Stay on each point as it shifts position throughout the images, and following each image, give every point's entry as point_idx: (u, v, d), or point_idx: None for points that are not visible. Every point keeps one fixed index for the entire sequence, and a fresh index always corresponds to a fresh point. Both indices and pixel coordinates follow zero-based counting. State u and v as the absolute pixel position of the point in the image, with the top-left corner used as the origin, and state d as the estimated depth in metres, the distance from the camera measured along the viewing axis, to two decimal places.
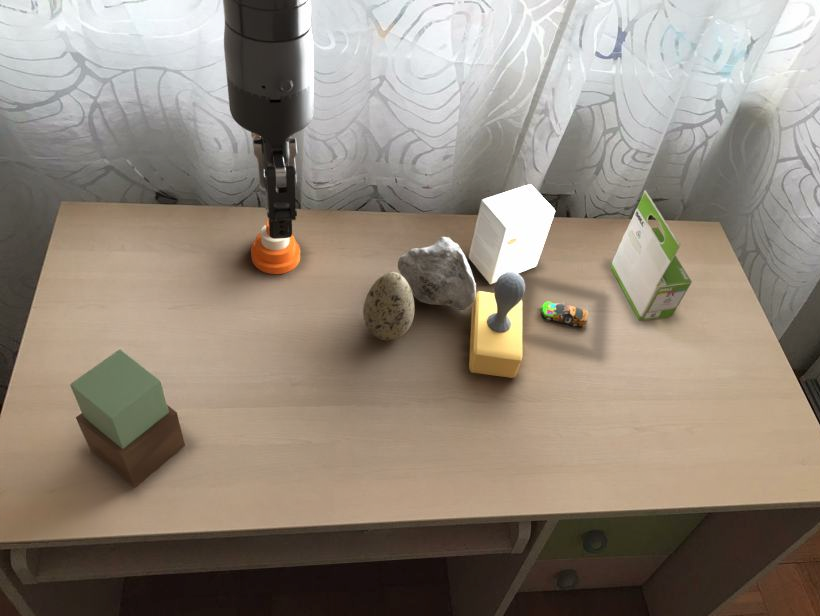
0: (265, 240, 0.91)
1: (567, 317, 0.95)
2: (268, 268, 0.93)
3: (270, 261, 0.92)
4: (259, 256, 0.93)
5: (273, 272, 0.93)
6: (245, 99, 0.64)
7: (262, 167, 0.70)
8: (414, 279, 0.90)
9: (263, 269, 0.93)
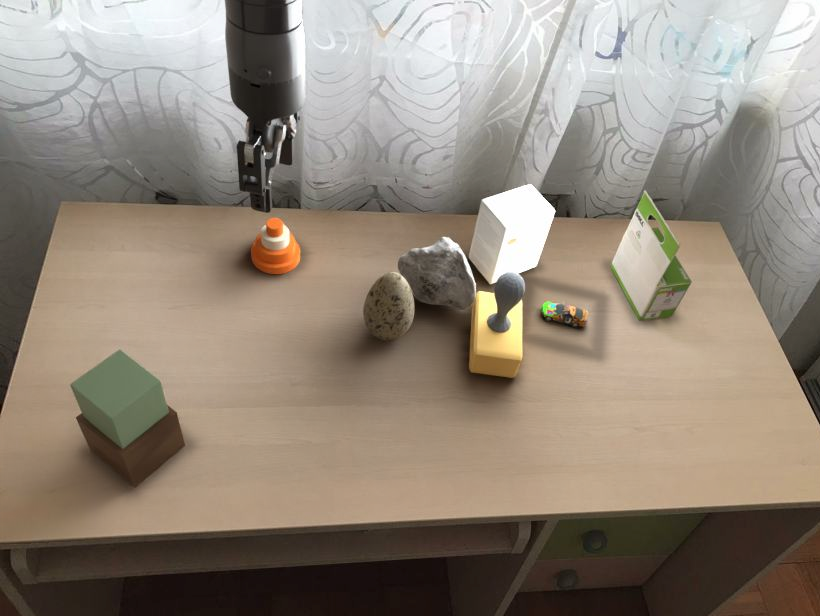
0: (265, 240, 0.91)
1: (567, 317, 0.95)
2: (268, 268, 0.93)
3: (270, 261, 0.92)
4: (259, 256, 0.93)
5: (273, 272, 0.93)
6: (233, 78, 0.72)
7: None
8: (414, 280, 0.90)
9: (263, 269, 0.93)
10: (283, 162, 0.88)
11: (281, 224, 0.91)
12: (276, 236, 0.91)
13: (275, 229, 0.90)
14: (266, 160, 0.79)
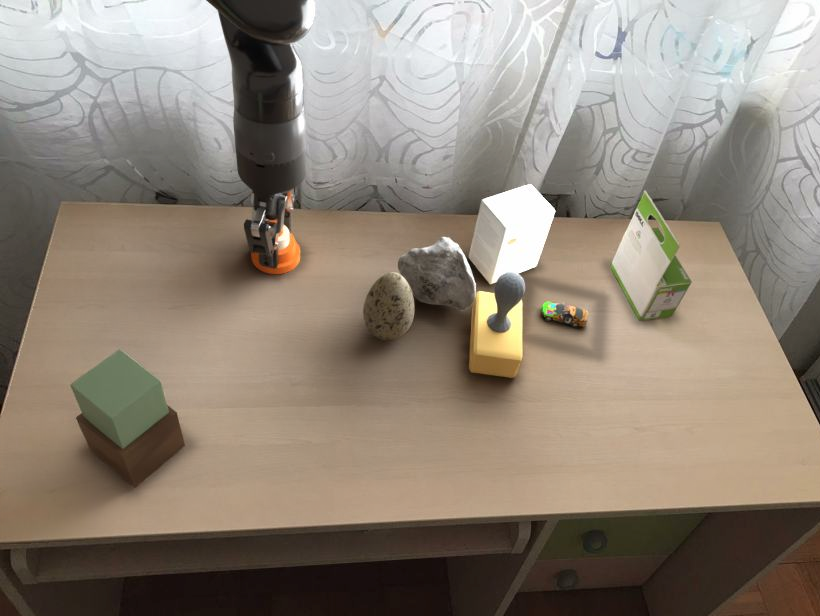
0: None
1: (567, 317, 0.95)
2: (268, 268, 0.93)
3: None
4: None
5: (273, 272, 0.93)
6: (240, 159, 0.80)
7: (255, 213, 0.86)
8: (414, 280, 0.90)
9: (263, 269, 0.93)
10: None
11: None
12: None
13: None
14: (272, 227, 0.87)
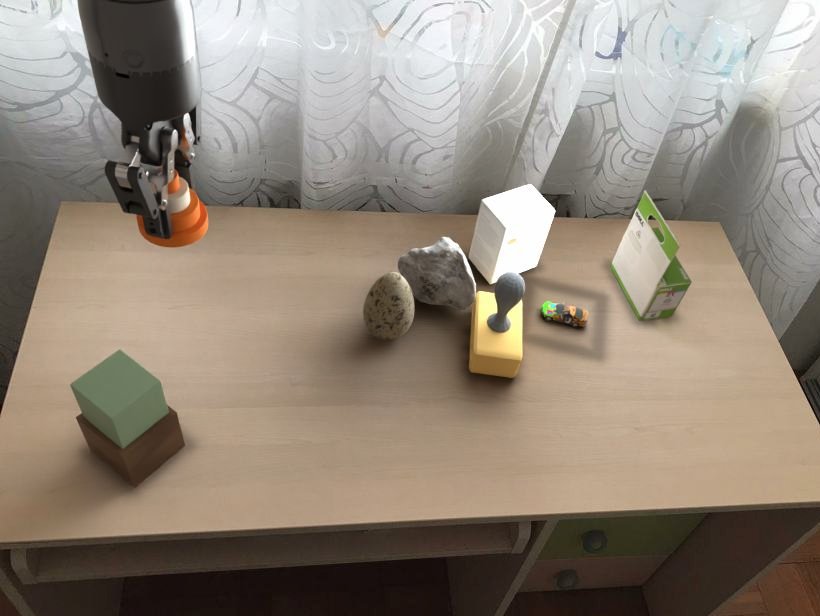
0: None
1: (567, 317, 0.95)
2: (159, 239, 0.65)
3: None
4: None
5: (167, 245, 0.66)
6: (94, 66, 0.53)
7: None
8: (414, 280, 0.90)
9: (153, 240, 0.66)
10: None
11: (175, 175, 0.64)
12: (168, 193, 0.64)
13: None
14: (155, 177, 0.60)
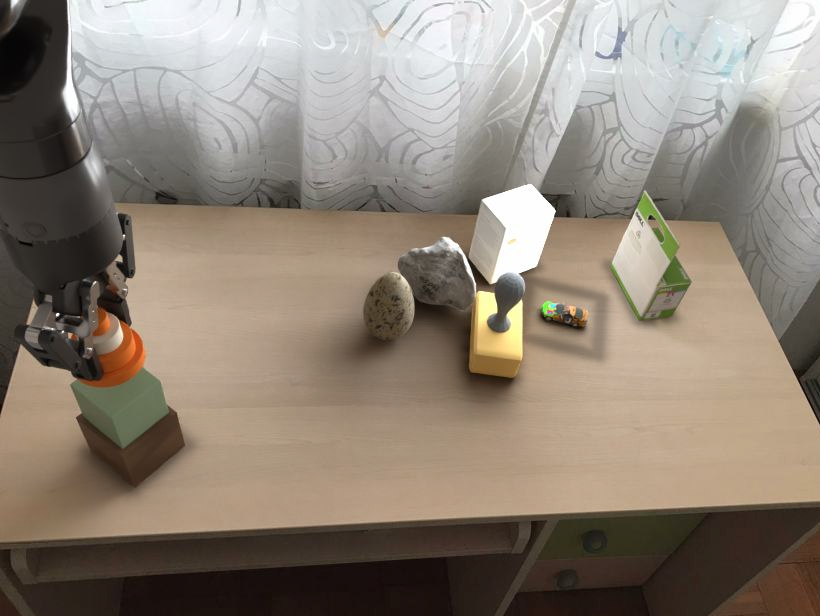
0: None
1: (567, 317, 0.95)
2: None
3: None
4: None
5: (99, 385, 0.62)
6: None
7: None
8: (414, 280, 0.90)
9: (83, 381, 0.62)
10: None
11: (104, 317, 0.60)
12: (97, 335, 0.60)
13: None
14: (77, 328, 0.56)
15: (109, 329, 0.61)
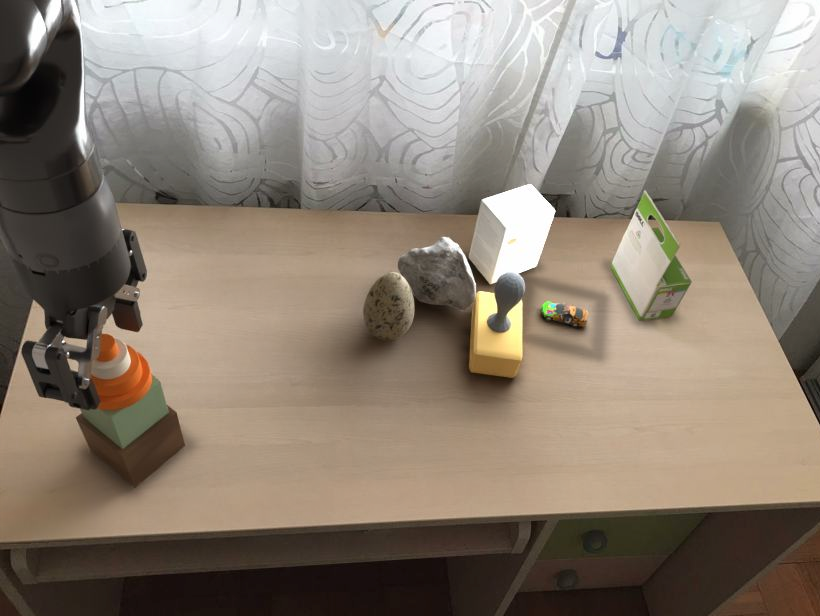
0: None
1: (567, 317, 0.95)
2: None
3: (101, 394, 0.64)
4: None
5: (107, 408, 0.65)
6: (11, 260, 0.51)
7: None
8: (414, 280, 0.90)
9: None
10: (128, 328, 0.67)
11: (112, 344, 0.63)
12: (106, 361, 0.63)
13: (102, 352, 0.62)
14: (78, 353, 0.57)
15: (117, 355, 0.64)
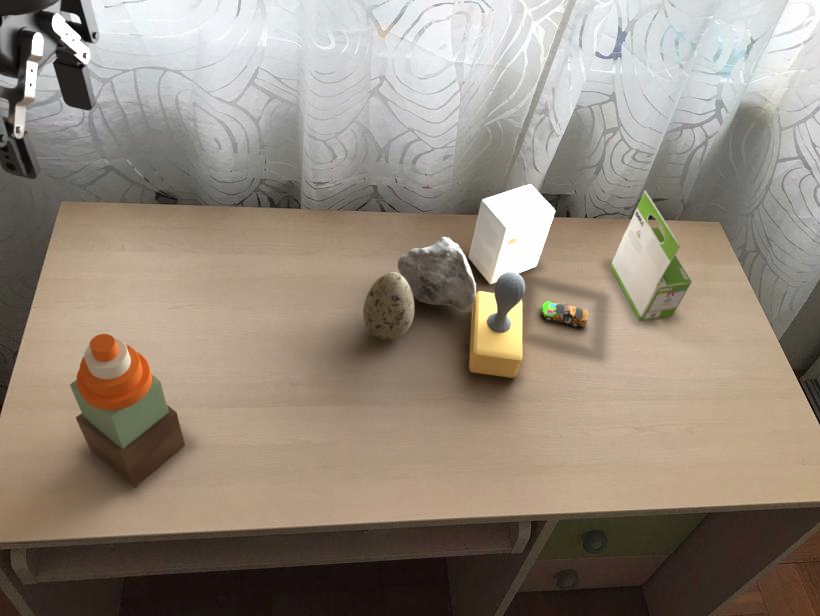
0: (90, 366, 0.63)
1: (567, 317, 0.95)
2: (99, 403, 0.64)
3: (101, 394, 0.64)
4: (86, 386, 0.65)
5: (107, 408, 0.65)
6: None
7: None
8: (414, 280, 0.90)
9: (92, 404, 0.65)
10: (78, 105, 0.58)
11: (112, 344, 0.63)
12: (106, 361, 0.63)
13: (102, 352, 0.62)
14: (8, 90, 0.48)
15: (117, 355, 0.64)
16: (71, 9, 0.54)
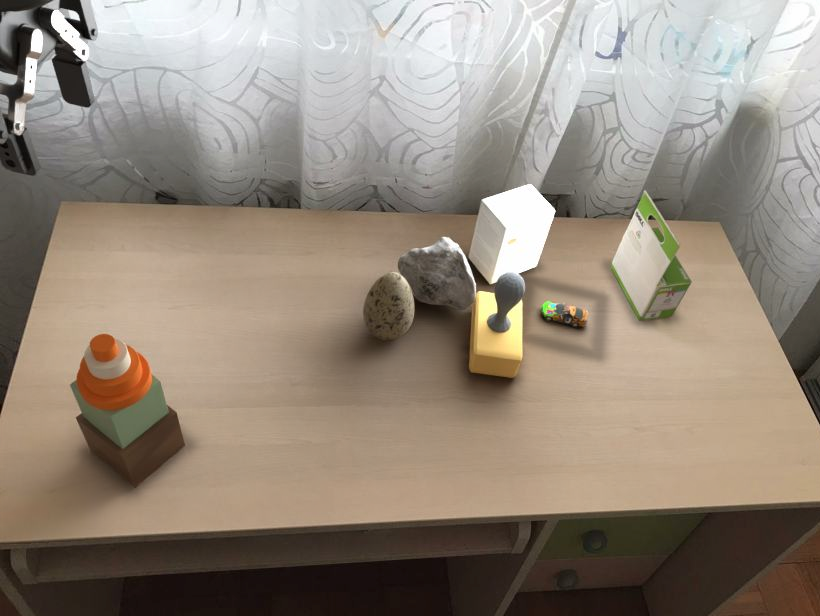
0: (90, 366, 0.63)
1: (567, 317, 0.95)
2: (99, 403, 0.64)
3: (101, 394, 0.64)
4: (86, 386, 0.65)
5: (107, 408, 0.65)
6: None
7: None
8: (414, 280, 0.90)
9: (92, 404, 0.65)
10: (77, 102, 0.58)
11: (112, 344, 0.63)
12: (106, 361, 0.63)
13: (102, 352, 0.62)
14: (8, 86, 0.48)
15: (117, 355, 0.64)
16: (70, 6, 0.54)
